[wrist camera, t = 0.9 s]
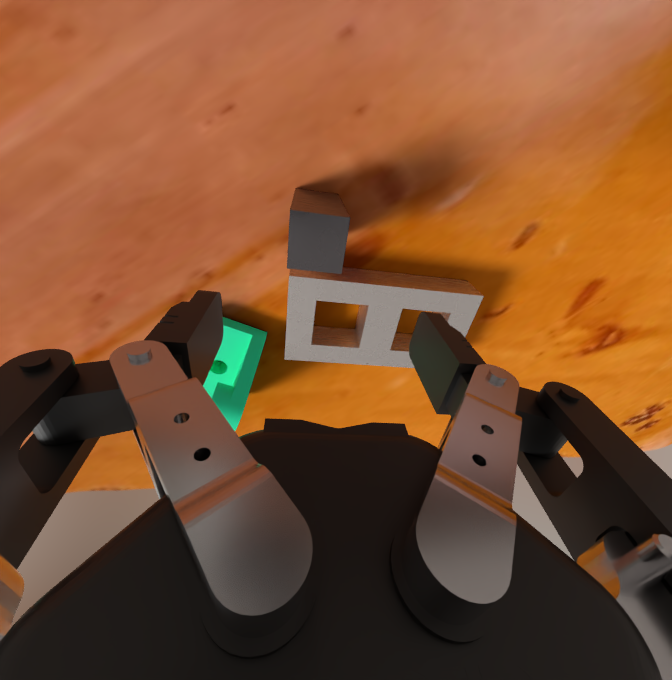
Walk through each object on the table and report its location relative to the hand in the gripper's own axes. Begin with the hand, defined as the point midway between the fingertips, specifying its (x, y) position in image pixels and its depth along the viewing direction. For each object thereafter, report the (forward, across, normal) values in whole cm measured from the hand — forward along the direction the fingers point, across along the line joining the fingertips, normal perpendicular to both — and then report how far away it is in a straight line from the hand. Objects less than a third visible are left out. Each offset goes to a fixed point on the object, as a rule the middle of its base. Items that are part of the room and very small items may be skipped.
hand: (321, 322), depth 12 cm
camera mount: (+21, +10, +18) cm, 29 cm away
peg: (+21, 0, 0) cm, 21 cm away
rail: (+21, -8, +10) cm, 24 cm away
